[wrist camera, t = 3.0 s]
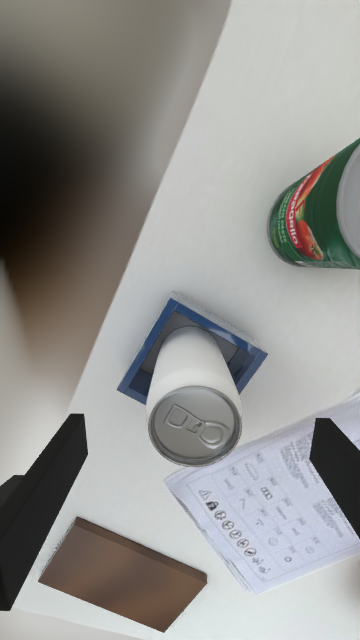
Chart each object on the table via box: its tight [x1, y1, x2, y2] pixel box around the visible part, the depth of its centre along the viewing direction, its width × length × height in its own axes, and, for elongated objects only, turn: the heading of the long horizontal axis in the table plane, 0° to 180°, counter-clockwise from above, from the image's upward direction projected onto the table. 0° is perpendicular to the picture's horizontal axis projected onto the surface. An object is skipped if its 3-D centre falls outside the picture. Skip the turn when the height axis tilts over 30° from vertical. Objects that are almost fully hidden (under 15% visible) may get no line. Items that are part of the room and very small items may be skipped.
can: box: [146, 327, 242, 467], centre depth 20 cm, size 6×6×12 cm
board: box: [38, 517, 207, 633], centre depth 33 cm, size 20×12×1 cm, turn 60°
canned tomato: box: [267, 138, 360, 269], centre depth 18 cm, size 8×8×11 cm
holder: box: [117, 291, 268, 405], centre depth 24 cm, size 10×10×4 cm
